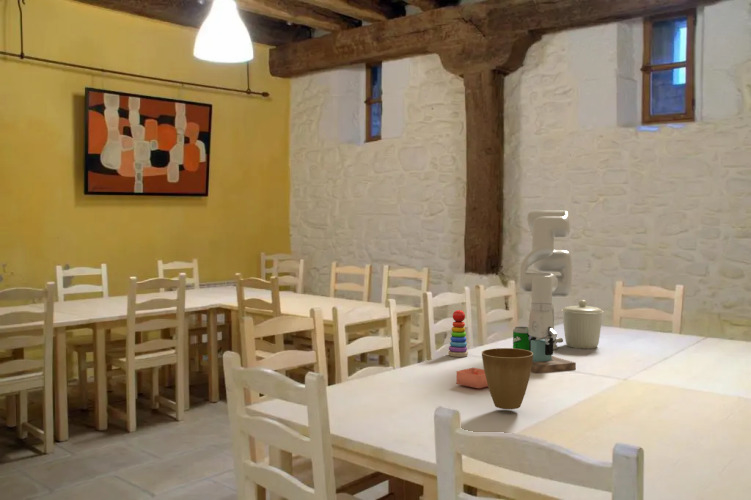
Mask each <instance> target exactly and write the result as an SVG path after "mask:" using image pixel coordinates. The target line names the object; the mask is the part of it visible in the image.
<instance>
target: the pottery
mask: <svg viewBox="0 0 751 500" xmlns="http://www.w3.org/2000/svg"><path fill="white" fill-rule="evenodd" d="M455 383H456V384H457V385H460V386H465V387H471V388H475V389H482V388H486V387H488V384H487V380H486V376H485V371H484V368H483V369H482V368H476V367H470V368H469V367H468V368H466V369H461V370H457V371H456V382H455ZM456 384H455V385H456Z"/></svg>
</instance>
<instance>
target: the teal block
mask: <svg viewBox="0 0 751 500" xmlns="http://www.w3.org/2000/svg"><path fill="white" fill-rule="evenodd" d="M548 341H549V340H548ZM545 344H546V342H545V339H541V340H531V352H533V360H532V361H534V362H542V361H551V358H552V356H553V355H545Z"/></svg>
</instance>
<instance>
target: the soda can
mask: <svg viewBox="0 0 751 500" xmlns="http://www.w3.org/2000/svg"><path fill="white" fill-rule="evenodd" d="M527 327H528V326H515V327H514V328H513V330H512V332H513V333H512V348H514V349H523V350H528V351H530V350H529V339H528V338H529V337H528V335H527V330H526V328H527Z"/></svg>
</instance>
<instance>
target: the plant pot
mask: <svg viewBox="0 0 751 500" xmlns="http://www.w3.org/2000/svg"><path fill="white" fill-rule="evenodd" d="M481 359H482V364H483V370H484V371H485V376H486V380H487V384H488V386H487V387H488V389H489V393H490V396H491V399H492V402H493V404H494V406H495V408H498V409H501V410H515V409H516V410H517V409H519V408H521V405H522V403H523V400H524V398H525V395H526V392H527V388H528V385H529V381H530V377H531V373H532V372H531V367H532V360H533V352H531V351H528V350H523V349H514V348H513V347H512V348H511V347H509V348H508V347H504V348H502V347H500V348H499V347H496V348H489V349H485V350H482V351H481Z"/></svg>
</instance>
